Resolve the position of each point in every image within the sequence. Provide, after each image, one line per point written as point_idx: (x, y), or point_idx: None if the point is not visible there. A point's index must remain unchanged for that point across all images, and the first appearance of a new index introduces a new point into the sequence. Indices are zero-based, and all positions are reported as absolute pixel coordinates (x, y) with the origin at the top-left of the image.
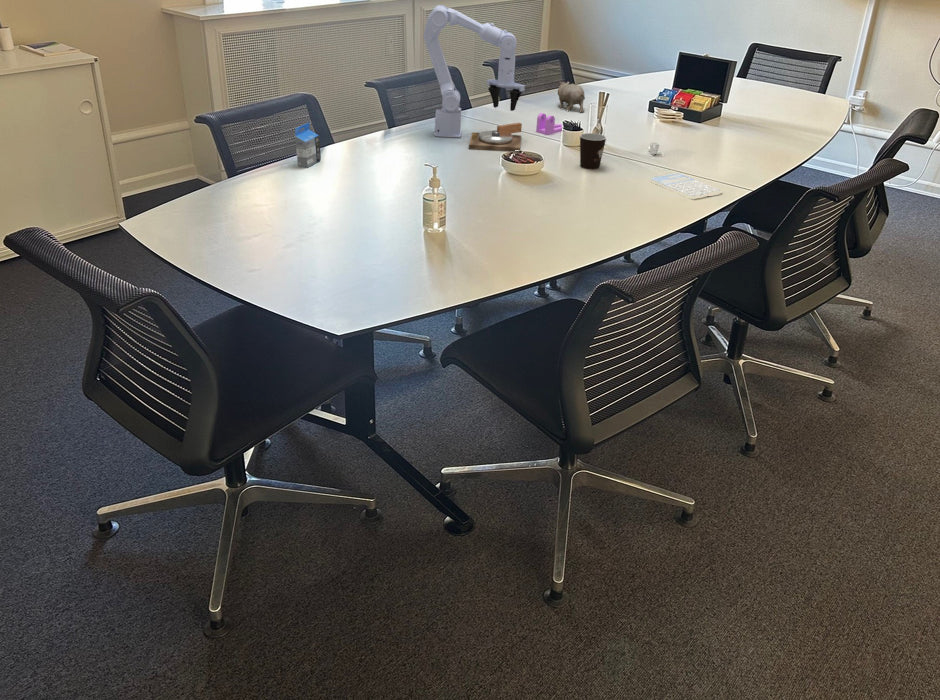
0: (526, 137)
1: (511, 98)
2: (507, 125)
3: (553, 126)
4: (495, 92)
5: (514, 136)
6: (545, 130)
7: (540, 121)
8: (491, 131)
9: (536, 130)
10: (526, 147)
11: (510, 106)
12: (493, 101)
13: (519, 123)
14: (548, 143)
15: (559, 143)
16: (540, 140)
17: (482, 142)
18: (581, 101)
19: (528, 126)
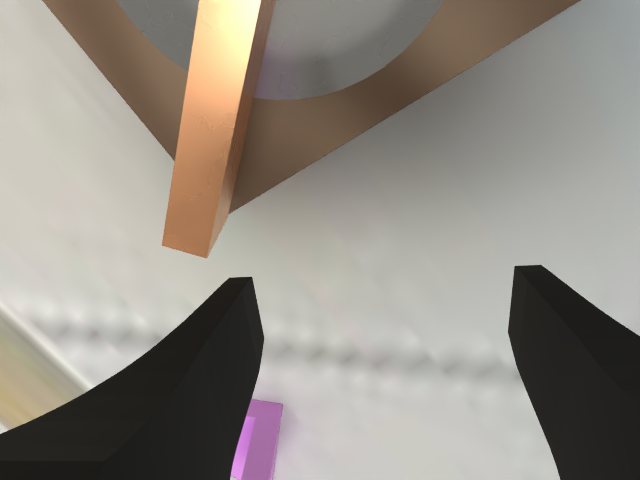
0: (239, 273)
1: (157, 383)
2: (203, 71)
3: None
4: (623, 462)
5: None
6: None
7: (244, 466)
8: (404, 3)
9: (279, 411)
10: (40, 44)
11: (231, 301)
12: (576, 304)
13: (179, 234)
14: (41, 252)
15: (5, 296)
16: (127, 275)
17: None
18: None
19: (387, 459)
